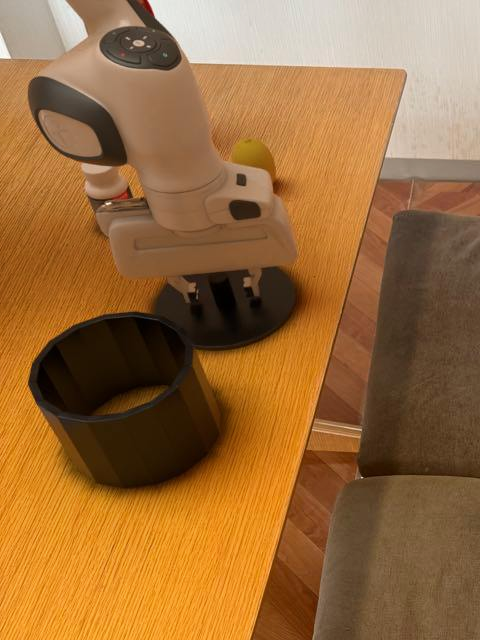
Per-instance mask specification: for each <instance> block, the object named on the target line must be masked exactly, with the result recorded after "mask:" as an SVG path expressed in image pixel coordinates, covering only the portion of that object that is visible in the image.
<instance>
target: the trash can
mask: <svg viewBox="0 0 480 640" xmlns="http://www.w3.org/2000/svg"><path fill="white" fill-rule="evenodd" d="M27 386H28V388H29V391H30V393H31V395H32V397H33V400H34V402H35V404H36V406H37V407H38V409H39V410H40V412H41V414H42V415H43V417H44V418H45V420H46V422H47V424H48V425H49V427H50V428H51V430H52V432H53V433H54V435H55V436H56V438H57V440H58V441H59V442H60V444H61V446H62V447H63V449H64V451H65V452H66V454H67V456H68V458H69V459H70V460H71V462H72V463H73V465H74V466H75V468H76V470H77V471H78V472H80V473H81V474H82V475H84V476H85V477H87V478H89V479H90V480H92V481H93V482H94V483H96V484H98V485H103V486H108V487H115V488H119V489H134V488H141V487H150V486H158V485H160V484H162V483H164V482H166V481H169V480H172V479H173V478H176V477H178V476H180V475H183V474H185V473H187V472H188V471H189V470H190V469H192V468H193V467H194V466H195V465H197V464H198V463H199V462H200V461H202V460H203V459H204V458H205V457H207V455H208V454H209V453H210V451H211V450H212V448H213V446H214V444H215V443H216V440H217V439H218V437H219V436H220V433H221V410H220V408H219V405H218V403H217V400H216V398H215V396H214V392H213V390H212V387H211V385H210V382H209V380H208V377H207V375H206V372H205V370H204V367H203V364H202V362H201V359H200V357H199V354H198V352H197V349H195V347H194V344H193V343H192V341H191V339H190V338H189V336H188V334H187V333H186V331H185V329H184V328H183V327H182V326H180V325H178V324H176V323H174V322H173V321H171V320H169V319H167V318H166V317H164V316H161V315H155V313H148V312H142V311H138V310H132V311H123V312H114V313H113V312H112V313H105V314H101V315H98V316H95V317H92V318H88V319H86V320H84V321H81V322H78V323H75V324H73V325H71V326H70V327H69V328H67V329H65V330H64V331H61V333H59V334H58V335H56V336H55V337H53V338H52V339H50V340H49V341H48V342H47V343H46V344H45V345H44V346H43V348H42V349H41V350H40V352H39V353H38V354H37V355H36V357H35V358H34V359H33V361H32V362H31V366H30V371H29V375H28V381H27ZM157 386H167V388H166V389H165V390H163V391H162V392H161V393H159V394H157V396H155V397H154V398H153V399H151V400H150V401H147V402H145V403H141V404H140V405H137V406H133V407H131V408H130V409H126V410H124V411H122V412H115V413H114V412H113V413H106V414H99V415H92V414H93V413H94V412H95V411H96V410H98V409H99V408H101V407H102V406H103V405H105V404H106V403H108V402H109V401H111V400H112V399H113V398H115V397H118V396H120V395H123V394H126V393H128V392H131V391H133V390H137V389H141V388H149V387H157Z"/></svg>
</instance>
